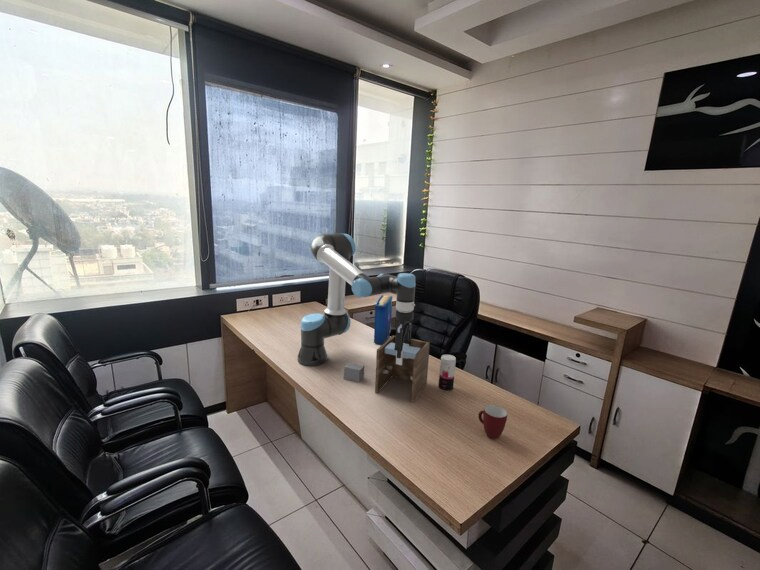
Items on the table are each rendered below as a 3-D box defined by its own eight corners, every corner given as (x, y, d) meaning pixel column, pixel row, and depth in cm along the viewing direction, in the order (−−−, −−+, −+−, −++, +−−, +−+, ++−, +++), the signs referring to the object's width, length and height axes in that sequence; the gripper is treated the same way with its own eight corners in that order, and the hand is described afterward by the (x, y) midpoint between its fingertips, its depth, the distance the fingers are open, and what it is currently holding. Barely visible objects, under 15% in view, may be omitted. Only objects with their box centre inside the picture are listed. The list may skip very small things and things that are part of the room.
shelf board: (384, 353, 154) (384, 347, 153) (390, 347, 160) (390, 342, 160) (415, 359, 149) (416, 353, 148) (420, 353, 155) (420, 348, 154)
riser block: (343, 378, 166) (343, 366, 165) (348, 374, 171) (349, 362, 169) (359, 382, 163) (359, 370, 162) (363, 377, 168) (364, 366, 166)
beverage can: (445, 393, 157) (448, 361, 154) (435, 386, 163) (438, 356, 159) (456, 389, 161) (459, 358, 157) (446, 383, 166) (448, 353, 163)
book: (384, 346, 207) (386, 304, 201) (372, 344, 208) (374, 303, 203) (390, 333, 227) (392, 295, 222) (379, 332, 229) (381, 294, 223)
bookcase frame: (374, 392, 155) (376, 349, 151) (391, 374, 172) (393, 335, 168) (414, 402, 148) (417, 358, 144) (426, 382, 166) (429, 342, 161)
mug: (470, 431, 131) (473, 407, 129) (482, 423, 136) (484, 399, 134) (497, 446, 123) (500, 420, 121) (508, 436, 129) (511, 411, 127)
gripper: (405, 317, 140) (402, 372, 145) (420, 305, 158) (417, 354, 163) (387, 315, 143) (385, 368, 148) (404, 303, 161) (401, 351, 166)
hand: (402, 360), depth 155 cm, fingers closed on shelf board, 7 cm apart
